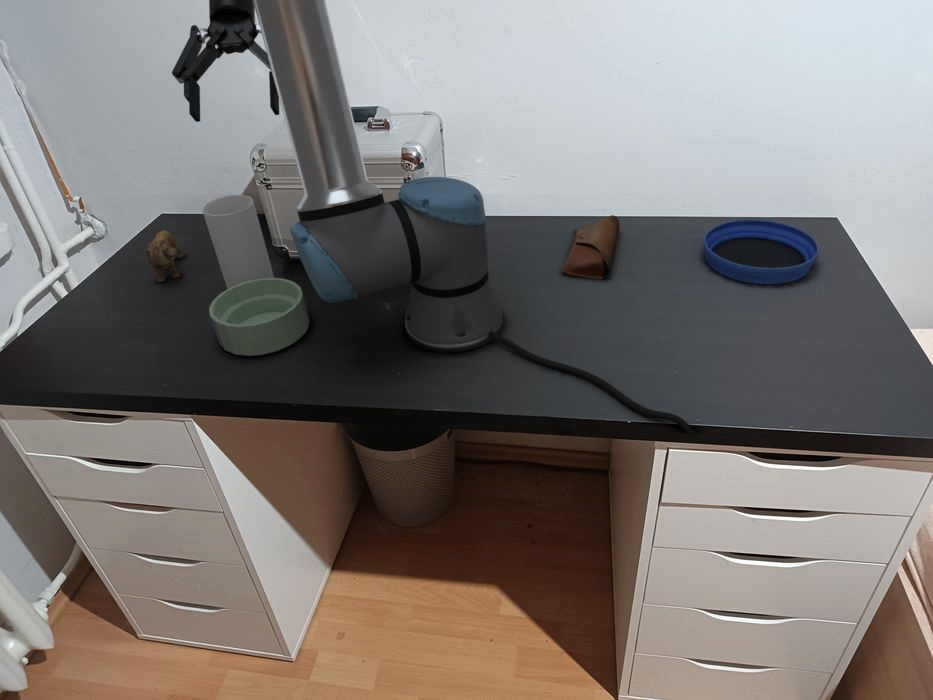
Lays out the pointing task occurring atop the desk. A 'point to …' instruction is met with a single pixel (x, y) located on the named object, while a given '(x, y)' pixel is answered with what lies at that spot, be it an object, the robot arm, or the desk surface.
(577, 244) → the sunglasses case
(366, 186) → the robot arm
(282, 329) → the ceramic bowl
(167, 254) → the lion figurine
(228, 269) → the cup
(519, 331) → the desk surface
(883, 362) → the desk surface
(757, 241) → the blue plastic ring
